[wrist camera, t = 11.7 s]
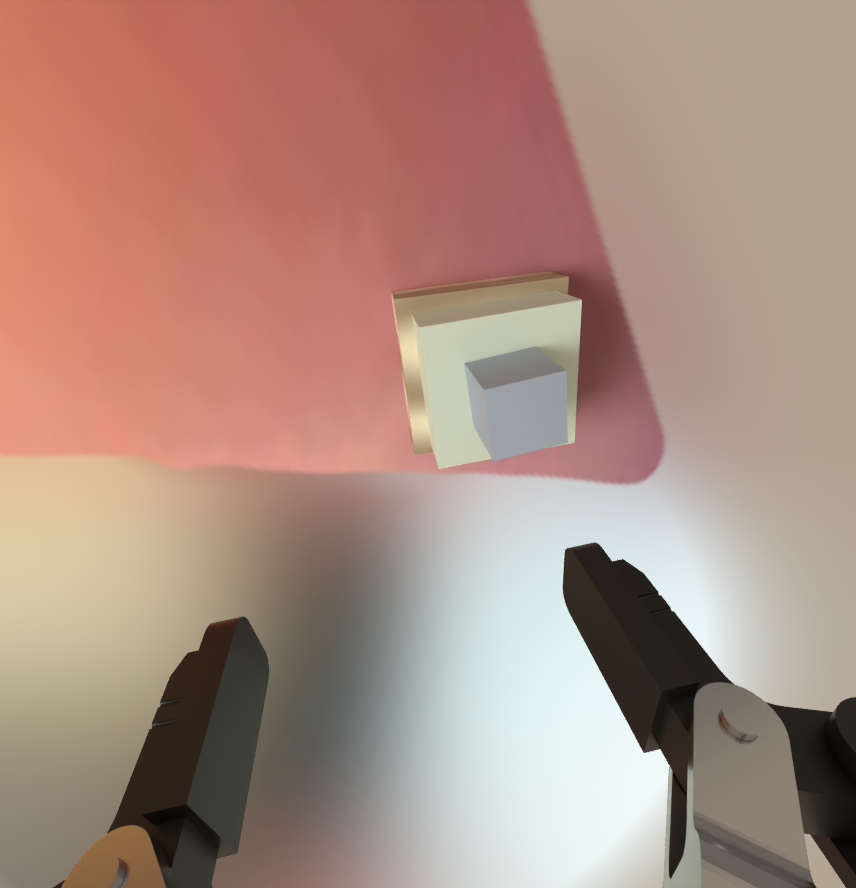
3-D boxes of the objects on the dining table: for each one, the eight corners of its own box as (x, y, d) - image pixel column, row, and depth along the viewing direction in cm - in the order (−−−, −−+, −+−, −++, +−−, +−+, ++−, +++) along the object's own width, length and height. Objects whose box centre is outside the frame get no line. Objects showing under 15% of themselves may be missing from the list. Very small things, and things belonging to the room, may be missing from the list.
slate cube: (464, 363, 28) (483, 390, 24) (534, 346, 29) (566, 370, 24) (473, 426, 31) (493, 461, 27) (538, 410, 31) (567, 442, 27)
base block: (390, 290, 33) (394, 299, 30) (547, 270, 34) (568, 276, 31) (409, 433, 40) (415, 454, 36) (541, 412, 41) (558, 431, 37)
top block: (411, 314, 30) (419, 327, 27) (556, 290, 31) (581, 300, 28) (430, 444, 36) (438, 468, 32) (553, 420, 37) (574, 442, 33)
